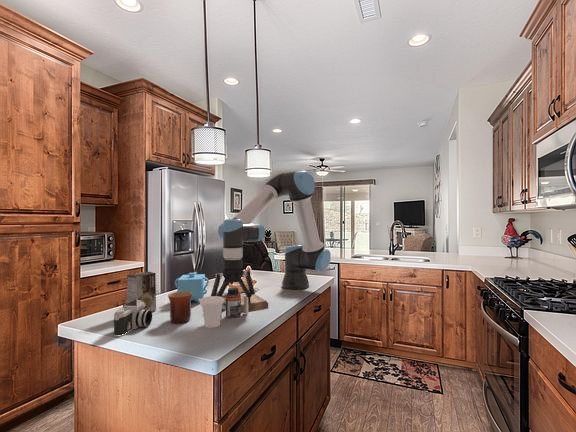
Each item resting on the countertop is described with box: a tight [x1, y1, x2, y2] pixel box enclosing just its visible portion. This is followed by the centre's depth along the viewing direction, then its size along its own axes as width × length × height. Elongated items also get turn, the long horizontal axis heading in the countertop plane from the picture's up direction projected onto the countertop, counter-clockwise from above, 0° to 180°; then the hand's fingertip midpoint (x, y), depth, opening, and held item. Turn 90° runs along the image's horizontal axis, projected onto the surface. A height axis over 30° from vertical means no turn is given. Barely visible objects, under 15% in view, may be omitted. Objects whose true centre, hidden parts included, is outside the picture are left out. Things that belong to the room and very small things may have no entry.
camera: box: [113, 300, 153, 335], centre depth 110 cm, size 16×9×10 cm, turn 178°
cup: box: [199, 295, 224, 329], centre depth 112 cm, size 9×9×10 cm
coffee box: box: [126, 270, 157, 313], centre depth 129 cm, size 9×6×16 cm
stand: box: [241, 293, 269, 313], centre depth 137 cm, size 14×14×3 cm
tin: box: [216, 292, 228, 312], centre depth 132 cm, size 6×6×7 cm
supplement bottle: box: [225, 286, 242, 320], centre depth 123 cm, size 6×6×11 cm
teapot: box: [174, 271, 210, 304], centre depth 150 cm, size 18×16×13 cm
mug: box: [167, 291, 193, 325], centre depth 119 cm, size 12×9×10 cm
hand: (233, 315), depth 123 cm, fingers open, 10 cm apart
